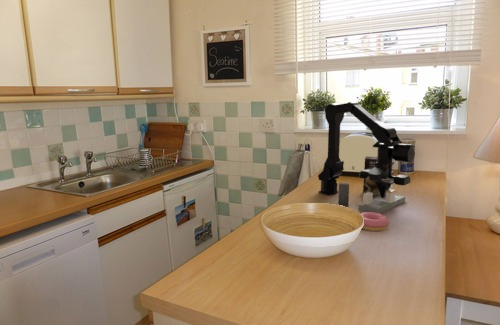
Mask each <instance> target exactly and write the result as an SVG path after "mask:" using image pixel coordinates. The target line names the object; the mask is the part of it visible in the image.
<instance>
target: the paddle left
mask: <svg viewBox="0 0 500 325" xmlns="http://www.w3.org/2000/svg"><path fill="white" fill-rule="evenodd" d="M362 195H363V196H362V197H363V199H362V203H363V204H366V205H369V204H371V203H373V199H374V195H373V193H371V192H367V193H364V194H363V193H362Z"/></svg>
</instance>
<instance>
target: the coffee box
mask: <svg viewBox="0 0 500 325" xmlns="http://www.w3.org/2000/svg"><path fill="white" fill-rule="evenodd" d="M375 162H377V156H367V155H366V156H365V157H364V167H363V168H364V169H363V170H365V169H370V170H371V169H372V168H374V167H375ZM362 184H363V186H362V187H363V188H362V195H363V194H364V193H367V192H371V193H373V196H381V195H380V192H379V189H378V186H377V185H376V184H375V183H374V182H372V181H371V180H369V176H368V177H367V178H366V179H364V178H363V183H362Z"/></svg>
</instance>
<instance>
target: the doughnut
mask: <svg viewBox="0 0 500 325" xmlns="http://www.w3.org/2000/svg"><path fill="white" fill-rule="evenodd" d="M359 214H361V215H362V216H363V218H364V226H363V229H362V230H365V231H369V232H382V231H384V230H386V229H387V228H388V227H389V224H390V221H389V218H388V217H387V216H386V215H384V214H382V213H380V214H379V213H374V212H366V211H363V212H361V213H359Z"/></svg>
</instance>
